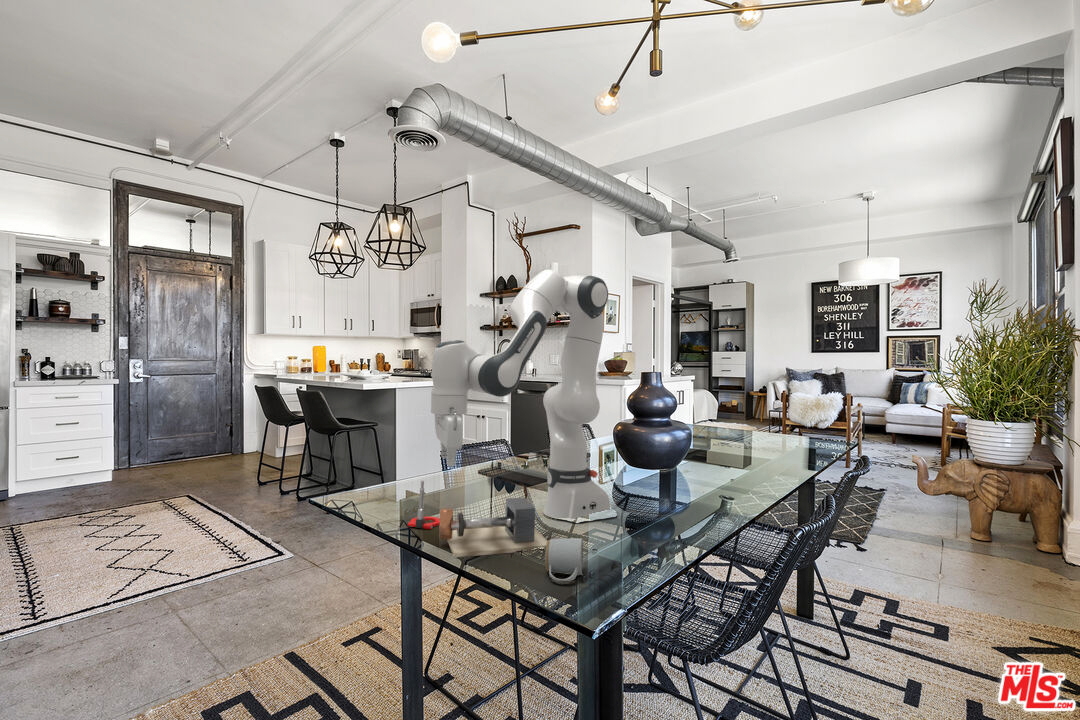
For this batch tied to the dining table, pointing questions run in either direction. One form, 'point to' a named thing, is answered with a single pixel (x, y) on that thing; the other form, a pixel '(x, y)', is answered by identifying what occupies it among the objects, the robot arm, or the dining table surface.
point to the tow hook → (420, 520)
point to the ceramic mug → (564, 557)
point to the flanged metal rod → (467, 523)
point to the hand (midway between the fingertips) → (447, 461)
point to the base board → (489, 542)
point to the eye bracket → (520, 520)
